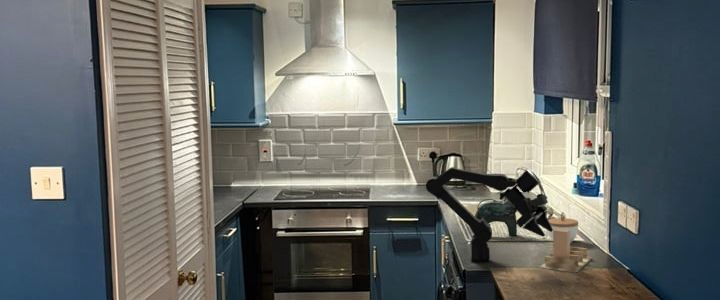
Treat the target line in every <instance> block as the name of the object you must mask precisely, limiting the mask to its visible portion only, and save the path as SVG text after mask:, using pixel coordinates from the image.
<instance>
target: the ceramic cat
mask: <svg viewBox="0 0 720 300" xmlns="http://www.w3.org/2000/svg"><path fill="white" fill-rule="evenodd" d="M504 192H505V191H497V193H496V195H499V194H500V193H504ZM489 200H490V201H489ZM485 201H486V202H485ZM487 201H488V202H487ZM482 202H484V203H482ZM481 203H482V204H481ZM517 212H518V211H514V207H513V206H512V204H511V203H510V202H509V201H508V200H507V199H506V198H504V199H503V200H500V201H499V200H496V199H493V198H486V199H482V200H481V201H479V203H478V205H477V209H476V212H475V214H474V216H475V217H476V218H477V219H479V220H481V219H482V218H484V219H485V221H486V222H487V223H488V224H491V223H494V222H495V223H496V222H497V223H498V222H499V223H504V224H505V226H506V228H507V231H508V232H507V233H508V236H509V237H517V234H518V233H517V232H518V225H517V220H518V219H517V214H516V213H517Z"/></svg>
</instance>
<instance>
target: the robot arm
mask: <svg viewBox="0 0 720 300" xmlns="http://www.w3.org/2000/svg"><path fill="white" fill-rule="evenodd" d="M453 179H455V180H460V181H466V182H470V183H475V184H481V185H483V186H487V187H489V188H490V189H494V190H496V191H497V192H500V191H503V192H504V193H503V192H500V193H499V200H500V201H503V200H504V198H506V199H507V200H508V201H509V202H510V203H511V204H512V206H513V207H514V211H517V212H518V213H519V214H520V215H521V216H520V217H519V218H518V219H516V220H517V227H518V228H520V229H521V228H522V229H524V230H527V231H529V232H531V233H534V234H536V235H538V236H540V237H543V238H544V237H545V236H546V233H544V231H543V229H542V228H544V229H545V230H546V231H547V232H548V231H550V232H552V231H553V229H552V227H551V225H550V223H549V221H548V220H549V219H548V217H547V216H548V208H547V206H545V205H546V204H548V203H549V201H548V196H546V194H543V193H542V192H541V193H539V194H537V195H536V198H533V199H531V197H526V196H525V195H524V194H525V193H528V194H529V193H531V192H532V191H533V190H534V188H536V187H537V186H538V185H539V184H540V181H539V180H538V179H537V178H536V177H535V176H534V175H533V174H531V173H530V172H529V171H528V170H527V169H526V170H524V171H523V173H522V174H520V175H519V176H518V178H514V177H513V178H512V177H508V176H507V175H506V174H504V173H483V172H478V171H472V170H468V169H467V170H466V169H463V168H462V169H461V168H457V167H454V166H451V167H449V168H448V169H447V170H445V171H444V172H443V173H440V174H439V175H438V176H432V177H431V176H430V178H429V179H428V180H427V182H425V183H426V184H425V189H426V191H427V192H428V193H430V194H431V195H432V196H434V197H435V198H437V199H439V200H441V201H443V203H445V205H447V206H448V207H449V209H451V210H452V211H453V212H454V213H455V214H456V215H457V216H458V217H459V218H460V219H461V220H462V221H463V222H464V223H466V225H467V226H468V227H469V228H470V230H471V232H472V233H473V235H472V237H471V240H470V262H472V263H489V262H490V261H489V260H490V258H491V257H490V255H491V254H490V248H489V244H488V243H489V241H491V239H492V236H493V229H492V227H491V226H492V225H491V223H487V222H486V221H485V219H484V218H482V219H481V220H479V219H477V218H476V217H475V214H473V213H471V211H469V209H468V208H466V207H465V206H464V205H463V204H462V203H461V202H460V201H459V200H458V199H457V198H456V197H455V196H454V195H453V194H452V193H451V192H450V191H449V189H448V188H447V185H446V184H447V183H449V182H450V181H452V180H453ZM523 193H524V194H523Z"/></svg>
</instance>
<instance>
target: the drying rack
mask: <svg viewBox="0 0 720 300" xmlns="http://www.w3.org/2000/svg"><path fill="white" fill-rule="evenodd" d="M592 258H593V257H591V256H588V248H587V247H585V248H584V247H578V246H570V259H567V258H558V257H553V251H552V252H550V253H549V255H547V256H544V263H542V264H541V265H540V266H539V268H540V269H545V270H546V269H547V270H554V271H560V272H570V273H576V272H577V273H578V272H579V271H580V270H581V269H582V268H584V267H585V266H586V265H587V264H588V263H589V262H590V261H591V260H592Z"/></svg>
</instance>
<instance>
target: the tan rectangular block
mask: <svg viewBox="0 0 720 300" xmlns="http://www.w3.org/2000/svg"><path fill="white" fill-rule="evenodd" d="M552 241H553V243H552V248H553V250H552V253H553V257H558V258H567V259H570V247H571V243H570V230H564V229H555V230H553V240H552Z"/></svg>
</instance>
